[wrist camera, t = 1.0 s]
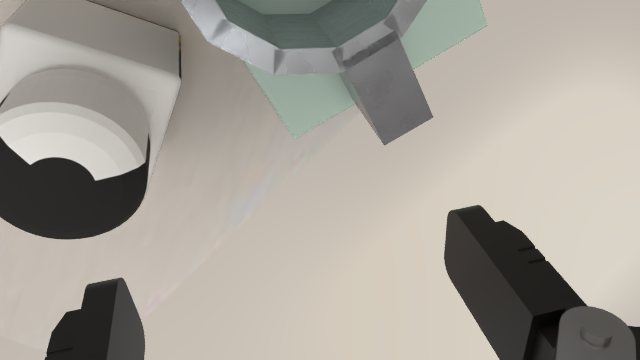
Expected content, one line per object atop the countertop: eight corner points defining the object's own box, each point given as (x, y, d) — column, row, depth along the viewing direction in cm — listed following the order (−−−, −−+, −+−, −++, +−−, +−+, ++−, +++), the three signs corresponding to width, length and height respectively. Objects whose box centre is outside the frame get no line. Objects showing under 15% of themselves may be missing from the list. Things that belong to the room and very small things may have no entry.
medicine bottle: (148, 140, 31) (136, 274, 22) (18, 107, 29) (-65, 244, 19) (182, 31, 28) (184, 129, 19) (39, -18, 26) (-46, 67, 16)
